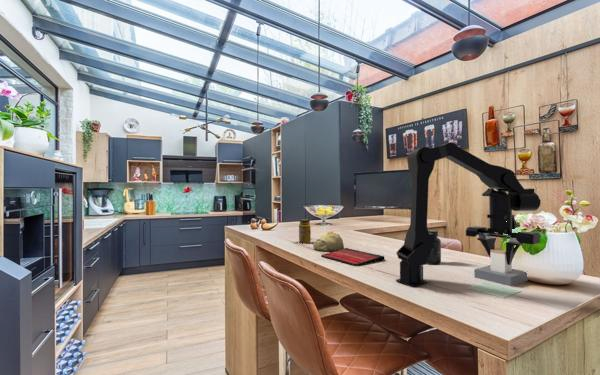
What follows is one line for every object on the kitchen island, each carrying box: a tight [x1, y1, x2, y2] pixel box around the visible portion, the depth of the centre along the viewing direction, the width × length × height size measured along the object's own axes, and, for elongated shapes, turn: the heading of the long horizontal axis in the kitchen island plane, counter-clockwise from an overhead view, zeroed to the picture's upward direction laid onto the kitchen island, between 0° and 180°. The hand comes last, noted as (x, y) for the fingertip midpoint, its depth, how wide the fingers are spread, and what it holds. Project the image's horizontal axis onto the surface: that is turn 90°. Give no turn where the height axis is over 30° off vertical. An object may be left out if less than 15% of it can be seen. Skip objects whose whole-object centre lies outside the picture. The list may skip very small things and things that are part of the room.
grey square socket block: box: [473, 264, 529, 287], centre depth 92 cm, size 10×10×3 cm
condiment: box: [293, 218, 314, 245], centre depth 159 cm, size 7×8×12 cm
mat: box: [467, 281, 522, 299], centre depth 82 cm, size 9×9×1 cm
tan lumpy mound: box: [312, 231, 345, 252], centre depth 141 cm, size 14×12×8 cm
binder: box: [321, 247, 386, 267], centre depth 123 cm, size 16×2×21 cm
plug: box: [489, 247, 513, 273], centre depth 92 cm, size 4×4×8 cm
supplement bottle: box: [425, 229, 442, 265], centre depth 114 cm, size 7×7×12 cm
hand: (501, 263), depth 92 cm, fingers closed on plug, 4 cm apart
